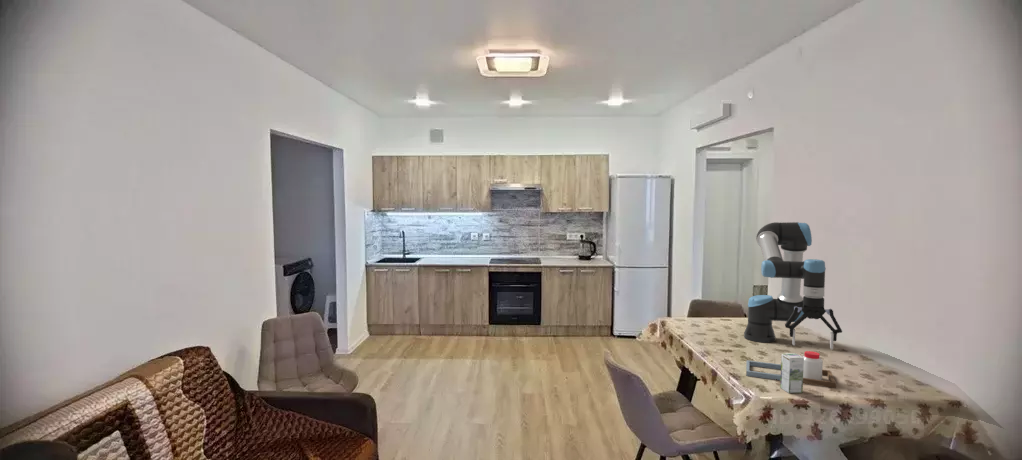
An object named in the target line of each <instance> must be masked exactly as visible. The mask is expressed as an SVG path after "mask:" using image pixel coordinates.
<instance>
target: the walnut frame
mask: <svg viewBox="0 0 1022 460" xmlns="http://www.w3.org/2000/svg"><path fill="white" fill-rule="evenodd" d="M822 376H825V377H826V376H827V378H828V380H823V379H822V380H816V379H809V378H803V383H805V385H812V386H818V387H825V388H826V387H827V388H832V389H833V388H834V389H836V388H837V382H836V380H835V377H834V375H833V373H832V371H831V370H828V369H822Z"/></svg>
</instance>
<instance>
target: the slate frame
mask: <svg viewBox="0 0 1022 460" xmlns="http://www.w3.org/2000/svg"><path fill="white" fill-rule="evenodd" d="M745 364H746V366H745V367H746V369H745V370H746V373H745V375H746V377H752V378H753V377H754V378H760V379H767V380H774V379H775V380H776V379H777V380H776V381H781V374H779V373H768V372H761V371H753V370H750V367H757V368H766V369H772V370H773V369H774V370H779V371H781V363H780V364H779V363H772V362H764V361H755V360H750V359H748V360H747V359H746V362H745Z"/></svg>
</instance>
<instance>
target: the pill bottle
mask: <svg viewBox="0 0 1022 460" xmlns="http://www.w3.org/2000/svg"><path fill="white" fill-rule="evenodd" d="M803 353H804V355H801V356H802V357H803V358H804V370H803V378H809V379H816V380H823V375H822V370H823V367H824V364H823V361H824V360H823V359H822V358H821V356H820V355H821V354H820V352H816V351H812V350H811V351H810V350H806V351H804V352H803Z"/></svg>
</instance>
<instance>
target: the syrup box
mask: <svg viewBox="0 0 1022 460" xmlns="http://www.w3.org/2000/svg"><path fill="white" fill-rule="evenodd" d="M802 356H803V355H800V354H798V353H796V352H795V353H794V352H793V353H792V352H791V353H781V362H780V364H781V370H780V375H781V380H780V383H779V384H780V389H782V390H783V391H785V392H786V393H787V394H802V393H803V389H804V384H803V370H804V358H803V357H802Z"/></svg>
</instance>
